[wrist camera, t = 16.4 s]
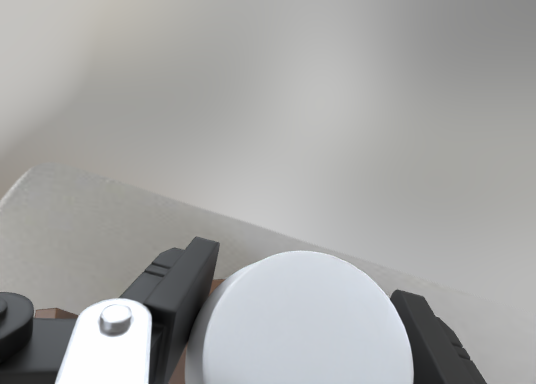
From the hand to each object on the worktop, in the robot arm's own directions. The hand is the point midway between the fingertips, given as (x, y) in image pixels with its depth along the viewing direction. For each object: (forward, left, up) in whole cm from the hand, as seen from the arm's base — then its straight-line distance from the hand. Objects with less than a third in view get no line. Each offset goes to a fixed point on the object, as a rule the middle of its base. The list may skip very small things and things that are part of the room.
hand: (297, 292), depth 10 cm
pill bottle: (-2, -1, -6) cm, 7 cm away
